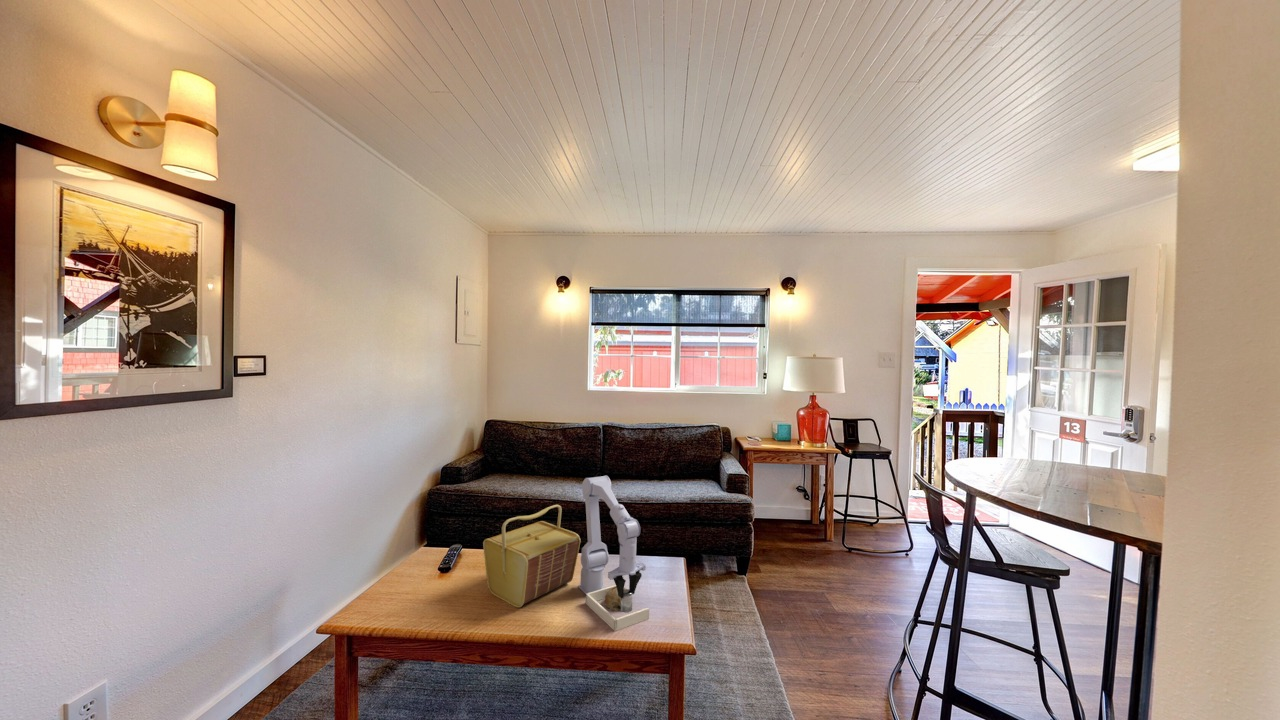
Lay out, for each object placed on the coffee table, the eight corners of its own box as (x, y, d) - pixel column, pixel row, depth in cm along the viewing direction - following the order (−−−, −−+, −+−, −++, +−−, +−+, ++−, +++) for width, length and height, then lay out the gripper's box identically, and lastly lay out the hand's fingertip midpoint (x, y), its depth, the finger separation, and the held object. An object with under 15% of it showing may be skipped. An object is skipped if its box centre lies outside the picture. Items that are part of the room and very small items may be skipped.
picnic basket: (521, 616, 157) (525, 530, 157) (478, 591, 172) (481, 512, 173) (581, 585, 180) (584, 510, 180) (538, 565, 196) (540, 496, 196)
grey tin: (618, 608, 158) (618, 591, 158) (627, 605, 161) (628, 588, 161) (624, 613, 155) (624, 596, 155) (634, 610, 157) (634, 592, 158)
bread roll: (604, 619, 164) (606, 604, 160) (603, 593, 173) (604, 579, 170) (632, 617, 165) (634, 602, 162) (628, 592, 175) (630, 578, 171)
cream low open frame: (585, 603, 167) (585, 593, 167) (617, 593, 175) (618, 584, 175) (614, 631, 150) (615, 620, 150) (648, 618, 159) (649, 608, 159)
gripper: (616, 564, 151) (614, 605, 151) (651, 555, 159) (649, 594, 159) (605, 556, 156) (603, 596, 156) (639, 548, 165) (638, 585, 165)
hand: (626, 594), depth 158 cm, fingers closed on grey tin, 4 cm apart
